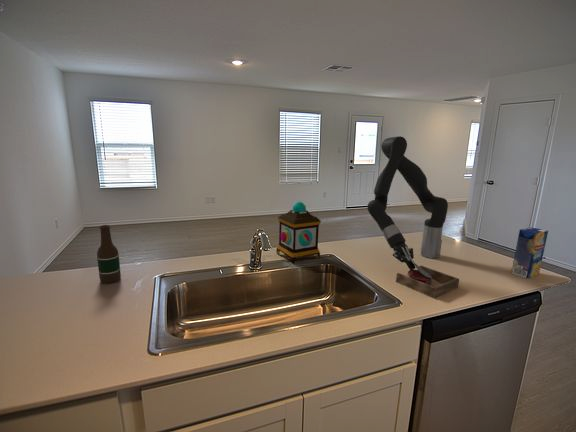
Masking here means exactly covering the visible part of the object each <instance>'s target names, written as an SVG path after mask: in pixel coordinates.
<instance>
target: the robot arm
mask: <svg viewBox="0 0 576 432" xmlns="http://www.w3.org/2000/svg"><path fill="white" fill-rule="evenodd" d="M407 148H408V142H407V140H406V138H405V137H404V136H393V137H388V138H384V139H383V140H382V142H381V151H382V153H383V154H384V156H386V158H387V159H388V161H387V163H386V165H385V167H384V168H383V170H382V171H381V173H380V174H379V176H378V178H377V180H376V182H375V186H374V188H373V189H374V190H373V193H374V199H372V200H370V201H369V202H368V203H367V206H366V208H367V211H368V213H369V216H371V217H372V219H373V220H374V221H375V222H376V223H377V225H378V227H379V229H380V231H381V232H382V235H383V237H384V239H385V240H386V242H387V244H388V245H389V248H390V249H392V250H393V251H394V253H392V257H394V258H395V259H396V260H398V261H399V262H400V263H405V264H406V266H407V268H408V269H409V270H416V269H417V268H416V267H415V265H414V263H413V259H415V255H414V248H413V247H411V248H410V247H409V246H408V245H407V244H406V241H407V240H406V239H405V237H404V235H403V234H402V232H401V231H400V229H399V227H398V226H397V225H396V224H395V222H394V220H393V219H392V217H391V216H390V215H388V213H387V212H386V211H387V206H388V199H389V198H388V197H389V196H388V195H389V193H390V189H391V186H392V184H393V180H394V177H395V175H396V172H397V171H398V173H400V175H401V176H402V178H403V179H404V180H405V182H406V183H407V185H408V186H409V187H410V188H411V190H412V192H414V194H415V195H416V197H417V198H418V200H419V201H420V203H421V205H422V207H423V209H424V210H425V211H426V212H428V213H430V214H431V216H430V218H426V219H425V220H424V223H423V224H424V225H423V233H422V241H421V248H420V249H421V250H420V255H421V257H425V258H429V259H438V258H439V257H441V249H442V243H443V240H442V235H443V228H444V224H445V223H446V219H447V214H448V209H449V205H448V204H449V203H448V201H447V199H446V198H444V197H439V196H435V195H434V194H433V193H432V192H431V191H430V189H429V188H428V179H427V176H426V174H425V173H424V171H423V170H422V168H421V167H420V166H419V165H417V164H416V163H415V162H413V161H412V160H410V159H409V158H407V157H406V156H405V153H406V151H407Z"/></svg>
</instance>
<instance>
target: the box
mask: <svg viewBox="0 0 576 432" xmlns="http://www.w3.org/2000/svg"><path fill="white" fill-rule="evenodd" d="M419 267H420V268H422V269H423V270H425V271H426V272H427V273H428V274H430V275H431V276H432V279H431V280H433V281H437V282H438V283H441V284H438V285H436V286H432V285H431V284H430V285H427V284H425V283H423V282H420V281H418V280H415V279H413V278H410V277H408V276H407V275H405V274H402V273H400V272H397V273H396V276H395V277H396V278H395V283H397V284H400V285H402V286H403V287H407V288H410V289H412V290H413V291H416V292H419V293H421V294H423V295H425V296H428V297H429V298H432V299H436V298H438V297H440V296H442V295H444V294H447V293H449V292H451V291H453V290H455V289H458V288H459V282H460V278H458V277H455V276H452V275H449V274H446V273H444V272H441V271H438V270H436V269H432V268H430V267H427V266H424V265H419Z"/></svg>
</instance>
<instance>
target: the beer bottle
mask: <svg viewBox="0 0 576 432" xmlns="http://www.w3.org/2000/svg"><path fill="white" fill-rule="evenodd" d="M99 229H100V246H99V247H98V249H97V252H96V258H97V259H96V260H97V261H96V262H97V266H98V276H99V282H100V283H102V285H106V284H107V285H111V284H114V283H117V282H119V281H120V280H121V278H122V275H121V264H120V257H119V256H120V254H119V250H118V248H117V247H116V245H115V244H114V243H113V240H112V236H111V235H112V233H111V230H110V229H111V227H110V225H109V224H103V225H101V226H99Z"/></svg>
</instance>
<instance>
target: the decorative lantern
mask: <svg viewBox="0 0 576 432" xmlns="http://www.w3.org/2000/svg"><path fill="white" fill-rule="evenodd" d="M289 210H290V211H288V212H286V213H282V214H281V215H279V216H278V217H277V220H278V222H279V228H278V229H279V230H278V231H279V232H278V233H279V234H278V236H279V237H278V238H279V239H278V245H277V247H276V251H275V252H276V254H277V255H280V253H282V254H284V255H286V256H287V257H289V258H290V260H291V264H294V263H295V261H296V259H301V258H306V257H311V256H315V255H316V259H320V258H321V251H320V249H319V228H320V227H319V226H320V224H321V222H322V220H320V218H318V217H317V216H314V215H313V214H311V213H310V212H309V211H308V210H307V207H306V205H305V204H304V202H302V201H297V202H295V203H294V204H293V206H292V209H289Z"/></svg>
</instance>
